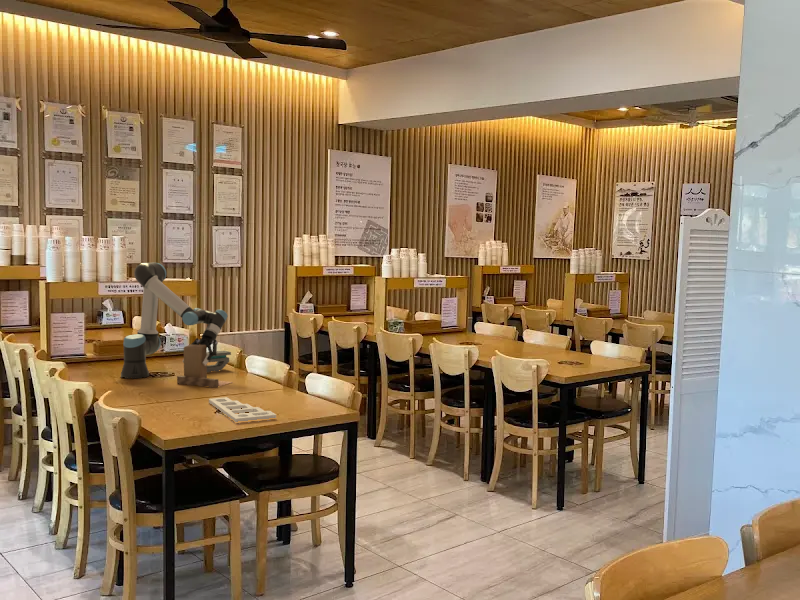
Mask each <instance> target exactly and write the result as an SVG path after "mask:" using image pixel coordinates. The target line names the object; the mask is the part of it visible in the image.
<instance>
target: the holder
mask: <svg viewBox="0 0 800 600" xmlns="http://www.w3.org/2000/svg"><path fill="white" fill-rule="evenodd" d="M209 403H210V404H212V405H213V406H215V407H216V408H217V409H219V410H220V411H221V412H223V413H224V414H226V415H227V416H228V417H230V418H231V419H233V420H234V421H235V422H238V421H248V420H257V419H269V418H276V419H277V414H276V413H274V412H272V410H264V409H263V408H261V407H260V406H255V407H254V406H252V405H250V404H249V403H242V402H240V401H239V400H232V399H231V398H229V397H214V398H212V397H211V398H208V404H209ZM210 404H209V405H210ZM213 406H212V407H213ZM241 408H242V409H241ZM217 409H216V410H217ZM230 409H232V410H230ZM221 412H220V413H221ZM245 412H249V413H245ZM235 413H239V414H235Z"/></svg>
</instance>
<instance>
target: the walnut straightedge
mask: <svg viewBox="0 0 800 600" xmlns="http://www.w3.org/2000/svg"><path fill="white" fill-rule="evenodd" d="M176 379H177V380H176V381H177V382H176V383H179V384H178V385H185V384H187V386H194V385H198V386H197V387H203V386H209V387H208V388H213V387H216V388H219V387H218V386H219V381H220V380H219V378H210V377H209V378H208V377H207V378H200V377H190V376H184V375H178V376H176Z"/></svg>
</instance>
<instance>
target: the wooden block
mask: <svg viewBox="0 0 800 600" xmlns="http://www.w3.org/2000/svg"><path fill="white" fill-rule="evenodd" d="M207 350H208V347H207V346H206V345H200V344H199V345H192V343H191V344H187V345H186V346H184V347H183V359H184V363H183V376H190V377H200V378H208V377H207V376H208V374H207V373H208V372H207V365H208V364H207V365H206V366H204V364H203V361H204V359H205V358H206V356H207V352H208V351H207Z"/></svg>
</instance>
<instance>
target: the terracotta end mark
mask: <svg viewBox="0 0 800 600" xmlns="http://www.w3.org/2000/svg"><path fill="white" fill-rule="evenodd" d="M229 383H231V384H233V383H234V382H233V381H224V380H219V386H220V387H223V386H226V385H225V384H227V385H230V384H229ZM222 385H223V386H222Z"/></svg>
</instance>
